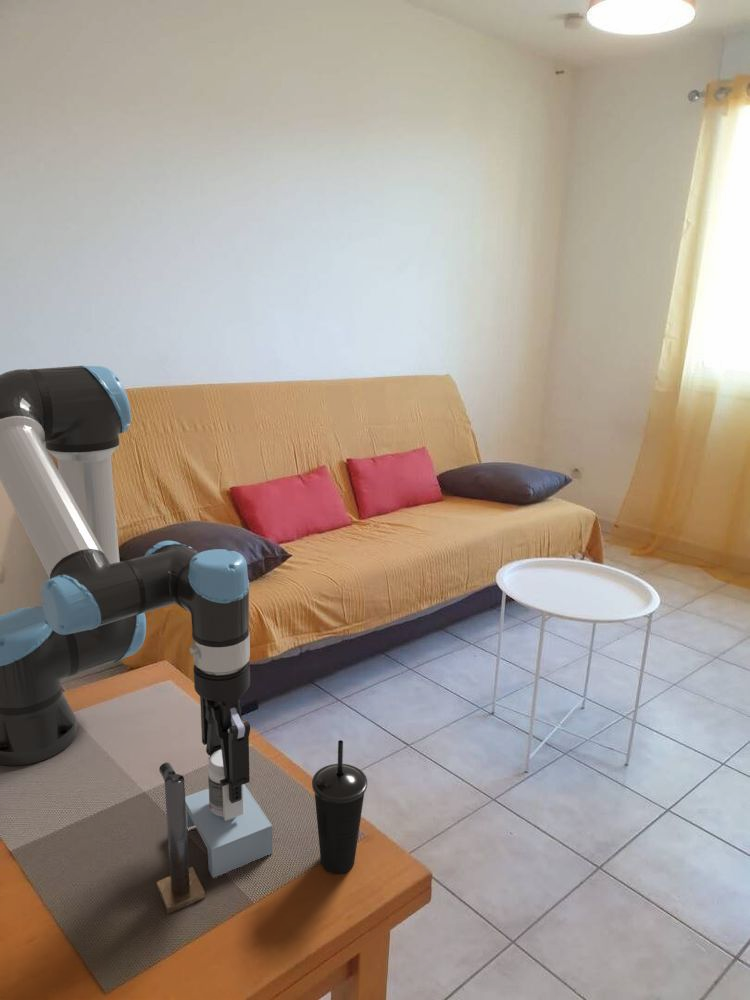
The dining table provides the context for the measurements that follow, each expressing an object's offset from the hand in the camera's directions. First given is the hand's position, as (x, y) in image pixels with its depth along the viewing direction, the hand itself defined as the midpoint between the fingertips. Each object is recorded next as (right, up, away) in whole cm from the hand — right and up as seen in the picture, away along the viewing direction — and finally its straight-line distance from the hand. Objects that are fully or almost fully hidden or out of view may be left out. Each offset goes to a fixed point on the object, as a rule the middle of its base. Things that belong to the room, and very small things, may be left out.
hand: (226, 804), depth 105 cm
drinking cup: (+16, -8, -2) cm, 18 cm away
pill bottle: (0, 0, 0) cm, 1 cm away
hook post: (-5, -9, -8) cm, 12 cm away
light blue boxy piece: (0, -6, +2) cm, 6 cm away
